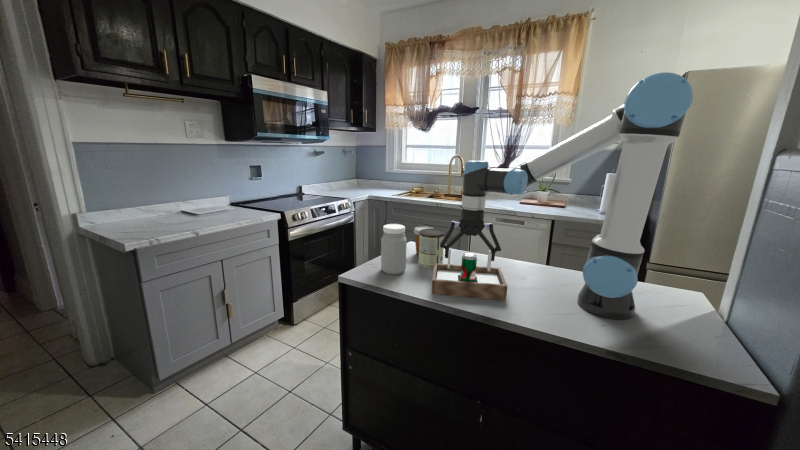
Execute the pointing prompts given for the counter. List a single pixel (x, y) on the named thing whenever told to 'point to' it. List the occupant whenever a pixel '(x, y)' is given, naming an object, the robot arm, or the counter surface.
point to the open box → (469, 284)
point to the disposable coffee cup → (417, 234)
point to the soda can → (468, 267)
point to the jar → (393, 249)
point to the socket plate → (457, 275)
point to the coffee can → (430, 247)
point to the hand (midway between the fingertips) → (468, 268)
